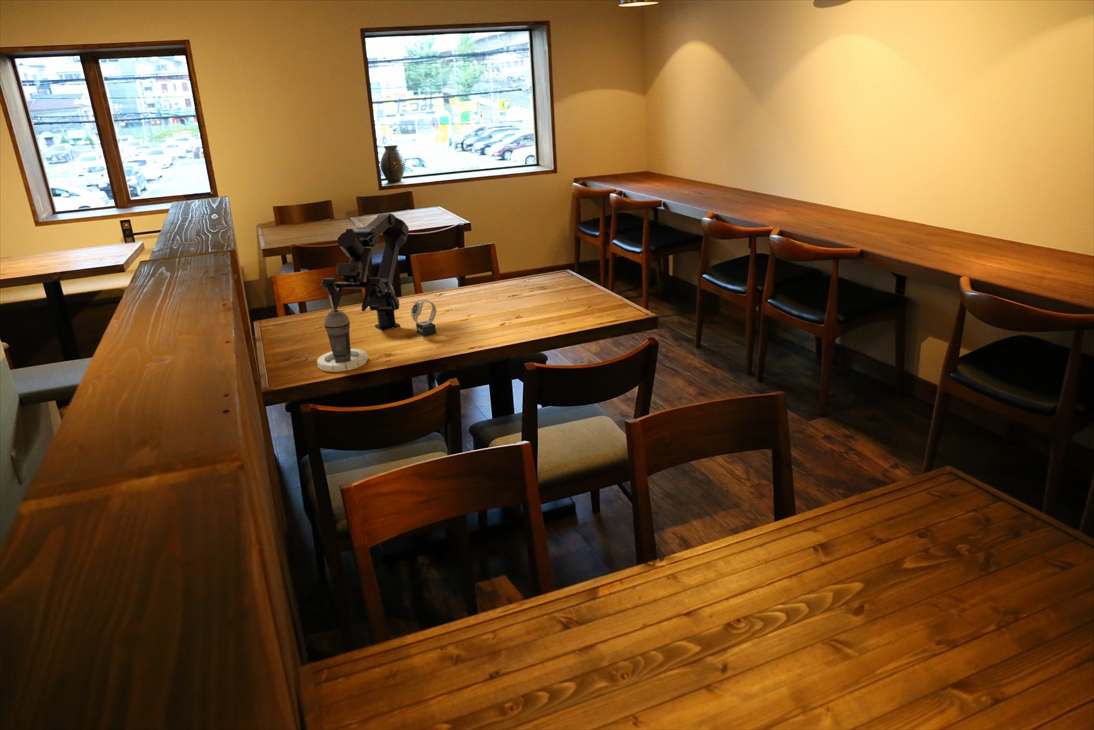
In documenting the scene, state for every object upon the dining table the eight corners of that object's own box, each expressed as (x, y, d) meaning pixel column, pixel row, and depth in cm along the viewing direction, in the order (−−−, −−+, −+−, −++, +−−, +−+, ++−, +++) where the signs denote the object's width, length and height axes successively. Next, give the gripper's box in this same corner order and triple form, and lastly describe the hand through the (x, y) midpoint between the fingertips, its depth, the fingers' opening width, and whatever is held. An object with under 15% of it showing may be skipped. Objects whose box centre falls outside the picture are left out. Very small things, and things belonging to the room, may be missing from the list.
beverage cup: (341, 367, 213) (330, 300, 205) (325, 363, 217) (313, 297, 209) (360, 359, 218) (350, 294, 211) (344, 355, 222) (334, 291, 215)
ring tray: (311, 362, 219) (310, 357, 218) (355, 350, 226) (354, 345, 226) (329, 375, 208) (328, 369, 208) (375, 362, 216) (374, 356, 215)
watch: (411, 333, 239) (407, 301, 235) (434, 328, 243) (430, 296, 239) (418, 338, 235) (414, 305, 231) (441, 332, 239) (437, 300, 235)
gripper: (318, 252, 220) (306, 298, 214) (376, 250, 216) (366, 298, 210) (334, 270, 230) (324, 315, 224) (390, 270, 226) (381, 315, 220)
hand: (348, 311), depth 219 cm, fingers open, 9 cm apart
